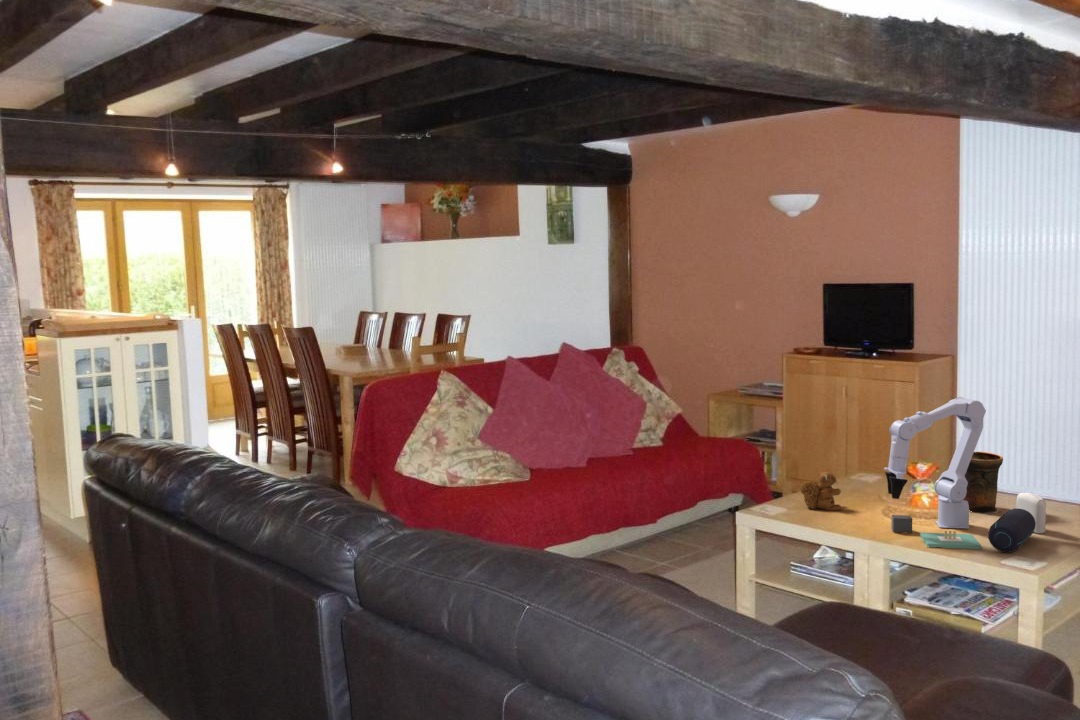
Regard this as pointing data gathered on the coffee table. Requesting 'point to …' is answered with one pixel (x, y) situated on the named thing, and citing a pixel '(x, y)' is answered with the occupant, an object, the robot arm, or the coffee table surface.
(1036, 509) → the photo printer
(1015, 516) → the portable speaker
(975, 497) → the vessel
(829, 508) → the stuffed squirrel
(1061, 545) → the coffee table surface
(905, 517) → the plug housing
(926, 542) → the header board
